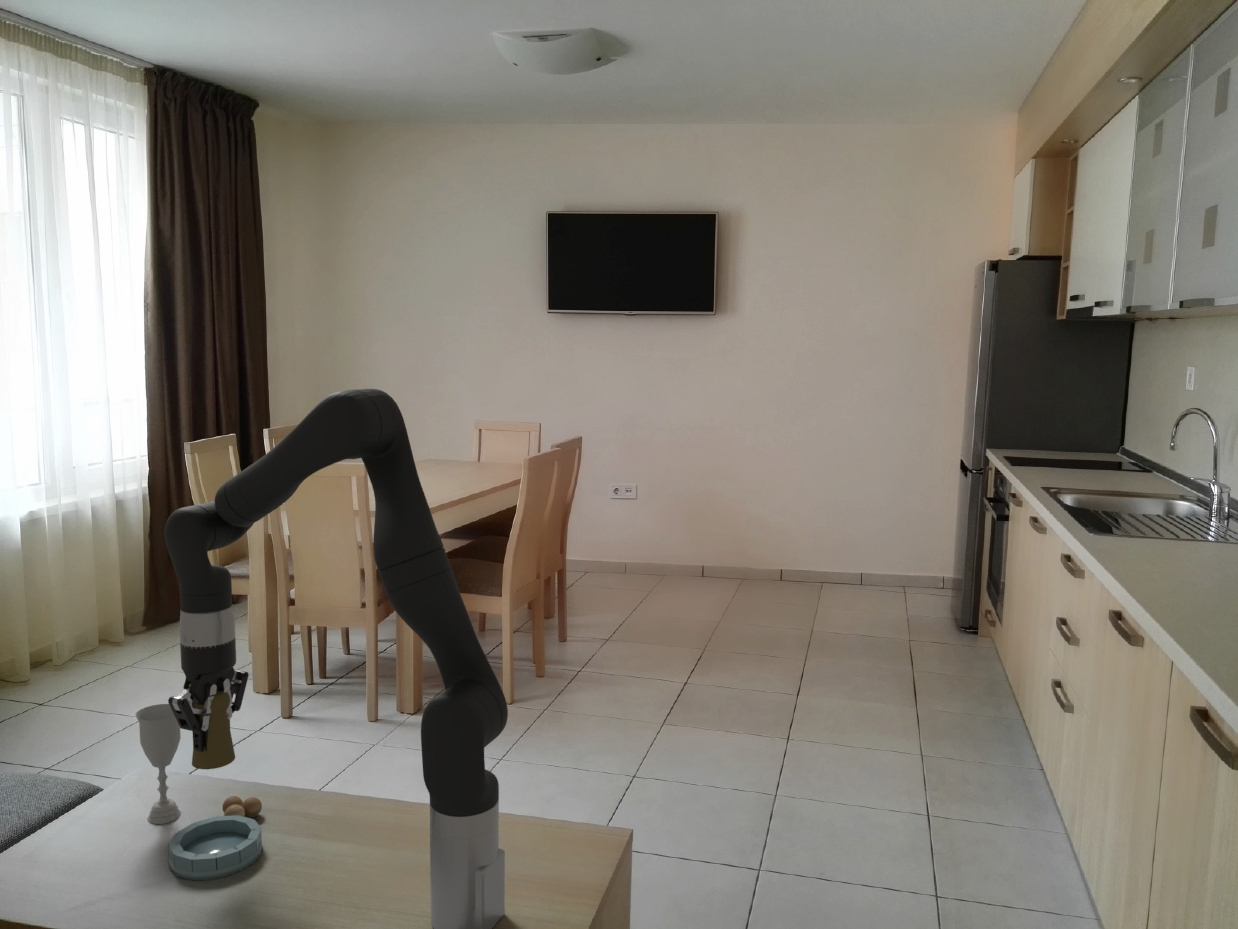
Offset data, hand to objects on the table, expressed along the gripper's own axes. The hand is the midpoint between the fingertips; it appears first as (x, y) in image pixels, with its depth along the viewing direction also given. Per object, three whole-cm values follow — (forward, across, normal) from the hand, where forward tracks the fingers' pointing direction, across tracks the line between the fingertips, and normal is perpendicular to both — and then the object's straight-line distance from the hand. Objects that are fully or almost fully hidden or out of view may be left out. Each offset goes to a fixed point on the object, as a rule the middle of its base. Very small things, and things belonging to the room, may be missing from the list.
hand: (212, 747), depth 140 cm
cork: (+2, 0, 0) cm, 2 cm away
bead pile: (+18, +10, +5) cm, 21 cm away
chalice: (+18, +6, +17) cm, 25 cm away
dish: (+18, 0, 0) cm, 18 cm away
